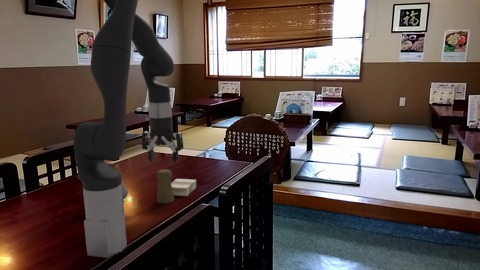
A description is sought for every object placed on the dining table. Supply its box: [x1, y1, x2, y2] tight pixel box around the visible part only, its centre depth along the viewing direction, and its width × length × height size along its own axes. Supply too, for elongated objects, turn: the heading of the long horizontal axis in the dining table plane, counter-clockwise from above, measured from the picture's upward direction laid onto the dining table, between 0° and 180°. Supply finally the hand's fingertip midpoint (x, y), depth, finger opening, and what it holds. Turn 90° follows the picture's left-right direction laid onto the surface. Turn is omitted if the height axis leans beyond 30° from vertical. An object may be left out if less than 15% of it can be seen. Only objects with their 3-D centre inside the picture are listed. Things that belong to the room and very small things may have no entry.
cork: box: [156, 168, 175, 204], centre depth 127 cm, size 6×6×11 cm
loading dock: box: [171, 178, 197, 197], centre depth 137 cm, size 10×8×3 cm
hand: (163, 161), depth 126 cm, fingers open, 8 cm apart
